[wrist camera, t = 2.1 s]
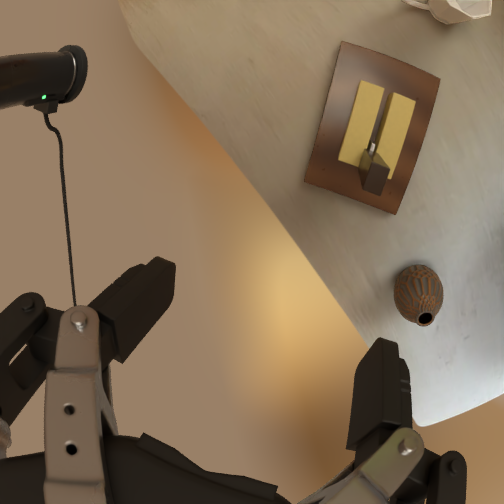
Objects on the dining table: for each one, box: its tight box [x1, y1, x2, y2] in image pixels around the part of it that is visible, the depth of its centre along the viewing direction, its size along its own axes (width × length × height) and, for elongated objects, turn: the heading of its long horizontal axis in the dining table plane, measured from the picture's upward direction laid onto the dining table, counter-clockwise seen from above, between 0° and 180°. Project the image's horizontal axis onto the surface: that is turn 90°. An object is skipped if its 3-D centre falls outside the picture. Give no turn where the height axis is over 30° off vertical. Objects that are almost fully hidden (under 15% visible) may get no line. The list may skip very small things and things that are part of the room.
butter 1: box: [338, 80, 384, 167], centre depth 27 cm, size 9×2×4 cm, turn 168°
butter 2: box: [373, 92, 416, 179], centre depth 27 cm, size 9×2×4 cm, turn 168°
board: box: [304, 41, 440, 215], centre depth 29 cm, size 18×12×1 cm, turn 168°
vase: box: [394, 265, 443, 326], centre depth 33 cm, size 7×7×9 cm
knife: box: [358, 140, 390, 196], centre depth 25 cm, size 4×2×12 cm, turn 168°
